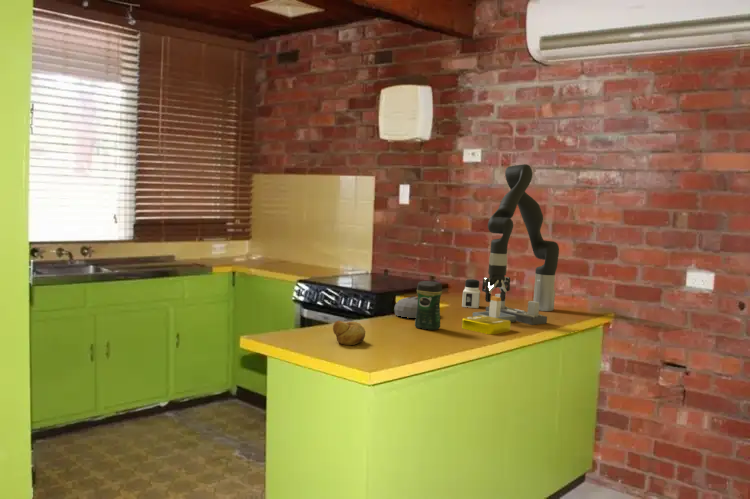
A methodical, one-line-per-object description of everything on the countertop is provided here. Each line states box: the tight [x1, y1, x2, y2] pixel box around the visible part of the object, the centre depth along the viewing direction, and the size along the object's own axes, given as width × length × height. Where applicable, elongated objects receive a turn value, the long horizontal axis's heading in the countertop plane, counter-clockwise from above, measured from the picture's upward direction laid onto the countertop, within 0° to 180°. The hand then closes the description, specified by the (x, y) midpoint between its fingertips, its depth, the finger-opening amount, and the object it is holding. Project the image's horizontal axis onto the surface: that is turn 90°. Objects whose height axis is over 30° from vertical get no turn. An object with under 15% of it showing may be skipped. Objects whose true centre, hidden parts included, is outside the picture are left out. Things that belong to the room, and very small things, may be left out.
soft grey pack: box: [393, 295, 418, 319], centre depth 297 cm, size 15×8×20 cm
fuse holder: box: [485, 305, 548, 326], centre depth 305 cm, size 9×28×4 cm, turn 35°
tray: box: [471, 310, 517, 323], centre depth 297 cm, size 13×13×2 cm
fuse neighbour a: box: [494, 293, 506, 309], centre depth 313 cm, size 2×4×9 cm, turn 35°
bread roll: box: [332, 320, 366, 346], centre depth 239 cm, size 13×10×8 cm
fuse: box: [526, 300, 540, 317], centre depth 296 cm, size 2×4×9 cm, turn 35°
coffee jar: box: [414, 280, 443, 331], centre depth 271 cm, size 10×8×19 cm
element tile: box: [461, 315, 512, 335], centre depth 276 cm, size 15×15×5 cm
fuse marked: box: [489, 295, 501, 317], centre depth 297 cm, size 2×4×9 cm, turn 36°
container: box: [461, 278, 481, 309], centre depth 329 cm, size 8×8×13 cm
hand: (495, 301), depth 297 cm, fingers open, 8 cm apart
